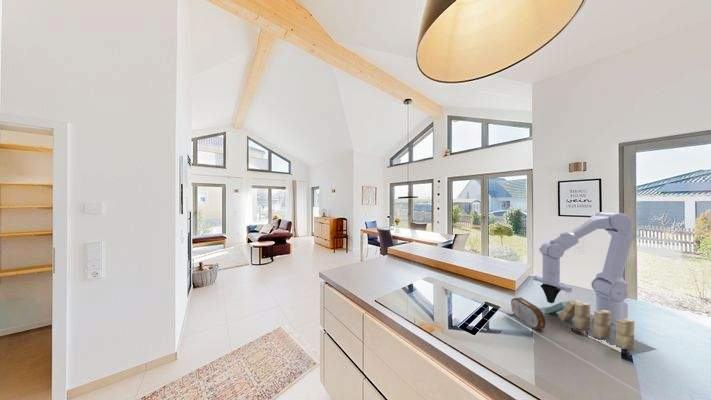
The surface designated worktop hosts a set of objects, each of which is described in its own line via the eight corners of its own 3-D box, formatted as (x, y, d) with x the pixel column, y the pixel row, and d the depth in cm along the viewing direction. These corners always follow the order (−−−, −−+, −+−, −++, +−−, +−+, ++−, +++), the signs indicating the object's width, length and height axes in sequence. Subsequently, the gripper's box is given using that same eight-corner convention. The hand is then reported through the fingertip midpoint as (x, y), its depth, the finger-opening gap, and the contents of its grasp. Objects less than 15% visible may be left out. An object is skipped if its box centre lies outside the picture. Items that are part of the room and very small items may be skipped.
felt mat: (555, 306, 105) (555, 305, 105) (657, 350, 75) (657, 349, 75) (531, 309, 102) (531, 309, 102) (626, 356, 72) (626, 355, 72)
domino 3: (584, 325, 89) (584, 302, 89) (589, 327, 87) (590, 304, 87) (574, 326, 88) (574, 303, 88) (580, 329, 86) (580, 305, 86)
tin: (546, 333, 84) (546, 311, 84) (538, 333, 84) (538, 311, 84) (516, 313, 100) (516, 294, 99) (509, 313, 99) (509, 294, 99)
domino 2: (567, 316, 95) (577, 299, 91) (572, 319, 93) (582, 303, 90) (558, 317, 94) (567, 300, 90) (562, 321, 92) (572, 304, 89)
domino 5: (626, 344, 78) (626, 318, 77) (634, 348, 76) (634, 320, 76) (615, 346, 76) (616, 319, 76) (623, 350, 75) (623, 322, 75)
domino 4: (604, 334, 83) (604, 309, 83) (610, 337, 82) (610, 312, 82) (593, 336, 82) (593, 311, 82) (600, 339, 81) (600, 313, 80)
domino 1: (553, 308, 100) (570, 300, 94) (556, 312, 99) (573, 305, 93) (544, 309, 99) (561, 302, 93) (547, 313, 98) (564, 306, 92)
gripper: (527, 266, 105) (527, 296, 105) (562, 277, 91) (561, 311, 91) (539, 265, 107) (539, 294, 107) (575, 276, 93) (575, 309, 93)
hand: (550, 302), depth 99 cm, fingers closed
